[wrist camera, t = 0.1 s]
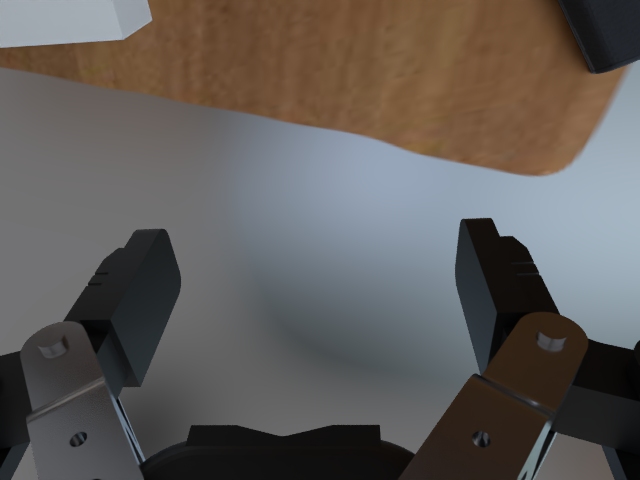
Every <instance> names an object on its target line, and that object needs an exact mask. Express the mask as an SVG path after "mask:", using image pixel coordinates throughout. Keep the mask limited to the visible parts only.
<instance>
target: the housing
mask: <svg viewBox="0 0 640 480" xmlns="http://www.w3.org/2000/svg"><path fill="white" fill-rule="evenodd" d="M151 21H152V17H151V13H150V9H149V5H148V1H147V0H0V48H3V47H18V46H34V45H49V44H64V43H79V42H94V41H109V40H124V39H125V38H127V37H128V36H130V35H131V34H133V33H134V32H136V31H137V30H139V29H140V28H142V27H143V26H145V25H146V24H148V23H149V22H151Z"/></svg>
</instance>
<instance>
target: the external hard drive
mask: <svg viewBox="0 0 640 480" xmlns="http://www.w3.org/2000/svg"><path fill="white" fill-rule="evenodd" d="M558 2H559V4H560V6H561V8H562V10H563V13H564V15H565V17H566V19H567V21H568V23H569V25H570V28H571V30H572V32H573V34H574V36H575V38H576V40H577V42H578V44H579V47H580V49H581V51H582V53H583V55H584V58H585V59H586V61H587V64H588V66H589V68H590V71H591V74H600V73H605V72H608V71H612V70H614V69H617V68H620V67H622V66H625V65H628V64H630V63H633V62H635V61H637V60H640V0H558Z"/></svg>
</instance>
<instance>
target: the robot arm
mask: <svg viewBox="0 0 640 480" xmlns="http://www.w3.org/2000/svg"><path fill="white" fill-rule="evenodd" d="M455 277H456V286H457V290H458V294H459V297H460V301H461V305H462V308H463V312H464V316H465V319H466V323H467V327H468V330H469V334H470V338H471V341H472V345H473V349H474V352H475V356H476V360H477V363H478V367H479V371H480V374H481V376H480V375H478V374H473V375H472V376H471V377H470V378H469V379H468V381H467V382H466V384H465V385H464V386H463V388H462V389H461V391H460V392H459V393H458V395H457V396H456V398H455V399H454V400H453V402H452V403H451V405H450V406H449V408H448V409H447V410H446V412H445V413H444V415H443V416H442V418H441V419H440V420H439V422H438V423H437V425H436V426H435V428H434V429H433V430H432V432H431V433H430V435H429V436H428V438H427V439H426V440H425V442H424V443H423V445H422V446H421V447H420V449H419V450H418V452H417V453H416V454H414V453H412V452H410V451H409V450H407V449H405V448H403V447H401V446H398V445H396V444H393V443H390V442H387V441H383V440H381V438H380V425H331V426H326V427H322V428H318V429H314V430H310V431H306V432H301V433H297V434H293V435H289V436H277V435H273V434H269V433H265V432H261V431H257V430H253V429H249V428H245V427H241V426H237V425H192V426H191V428H190V431H189V435H188V438H187V441H184V442H181V443H178V444H175V445H172V446H170V447H168V448H166V449H164V450H162V451H160V452H158V453H156V454H154V455H153V456H151V457H150V458H148V459H147V460H145V458H144V456H143V453H142V451H141V449H140V446H139V444H138V442H137V439H136V437H135V435H134V432H133V430H132V427H131V425H130V423H129V420H128V418H127V416H126V413H125V411H124V409H123V406H122V404H121V402H120V400H119V397H118V396H119V394H120V392H121V390H122V388H123V387H140V386H141V384H142V382H143V379H144V377H145V374H146V372H147V370H148V368H149V365H150V362H151V360H152V358H153V355H154V353H155V351H156V348H157V346H158V344H159V341H160V339H161V336H162V334H163V332H164V329H165V327H166V324H167V322H168V320H169V317H170V315H171V312H172V310H173V308H174V305H175V303H176V300H177V298H178V295H179V293H180V288H181V276H180V271H179V268H178V264H177V261H176V258H175V254H174V251H173V248H172V245H171V242H170V238H169V235H168V233H167V231H166V230H165V229H144V230H136V231H135V232H134V233H133V234H132V236H131V238H130V239H129V241H128V243H127V244H126V246H125V247H124V248H118V249H117V250H115V251H114V252H113V253H112V254H110V255H109V256H108V257H106V258H105V259H104V260H103V261H102V263H101V265H100V266H99V268H98V269H97V271H96V272H95V275H94V276H93V277H92V278H91V280H90V281H89V283H88V286H86V287H85V289H84V290H83V292H82V293H81V295H80V296H79V298H78V299H77V301H76V302H75V304H74V305H73V307H72V308H71V310H70V311H69V313H68V315H67V316H66V318H65V319H64V321H63V322H58V323H55V324H52V325H49V326H47V327H45V328H43V329H41V330H39V331H38V332H36V333H35V334H33V335H32V336H31V337H30V338H29V339H28V340H27V341H26V342H25V344H24V345H23V347H22V349H21V351H18V352H14V353H10V354H6V355H2V356H0V480H11V478H12V476H13V474H14V472H15V470H16V469H17V467H18V465H19V462H20V461H21V459H22V457H23V455H24V453H25V451H26V449H27V447H28V445H29V443H30V441H31V446H32V450H33V455H34V460H35V464H36V469H37V474H38V479H39V480H535V478H536V476H537V474H538V472H539V469H540V468H541V465H542V463H543V461H544V459H545V457H546V455H547V453H548V451H549V449H550V447H551V445H552V443H553V441H554V439H555V437H556V435H557V433H561V434H564V435H568V436H571V437H575V438H578V439H582V440H586V441H589V442H593V443H596V444H600V445H602V448H603V451H604V453H605V456H606V459H607V461H608V464H609V466H610V469H611V471H612V474H613V477H614V479H615V480H640V341H638V342H637V344H636V346H635V348H634V350H631V349H627V348H622V347H617V346H613V345H608V344H603V343H600V342H596V341H593V340H591V339H588V338H587V336H586V333H585V332H584V331H583V329H582V328H581V327H580V326H579V325H577V324H576V323H575V322H574V321H572V320H570V319H568V318H566V317H564V316H562V315H560V313H559V311H558V309H557V307H556V305H555V303H554V301H553V299H552V297H551V295H550V293H549V291H548V289H547V287H546V285H545V283H544V281H543V279H542V277H541V276H540V275H539V271H538V269H537V267H536V265H535V264H534V261H533V259H532V257H531V255H530V253H529V251H528V249H527V248H526V247H525V246H524V245H523V244H522V243H520V242H519V241H518V240H517V239H515V238H514V237H513V236H503V237H502V236H501V237H500V236H499V233H498V231H497V229H496V227H495V224H494V222H493V220H492V219H491V218H476V219H462V220H461V222H460V228H459V237H458V246H457V255H456V264H455Z"/></svg>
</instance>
